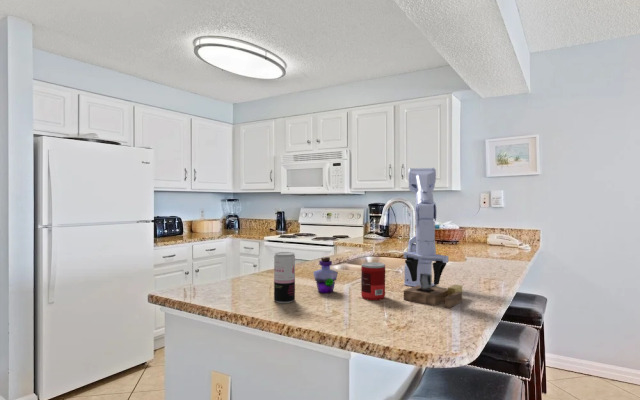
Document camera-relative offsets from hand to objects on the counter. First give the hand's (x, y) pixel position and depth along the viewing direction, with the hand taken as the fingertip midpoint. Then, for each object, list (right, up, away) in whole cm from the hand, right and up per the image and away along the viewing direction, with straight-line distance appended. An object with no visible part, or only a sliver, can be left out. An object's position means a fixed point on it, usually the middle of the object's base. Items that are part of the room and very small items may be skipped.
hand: (425, 282), depth 127 cm
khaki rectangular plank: (+10, -5, +1) cm, 11 cm away
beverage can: (-45, -5, -2) cm, 46 cm away
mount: (+2, -5, -1) cm, 6 cm away
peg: (0, -5, 0) cm, 5 cm away
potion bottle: (-32, -5, +10) cm, 34 cm away
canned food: (-16, -6, +2) cm, 18 cm away
